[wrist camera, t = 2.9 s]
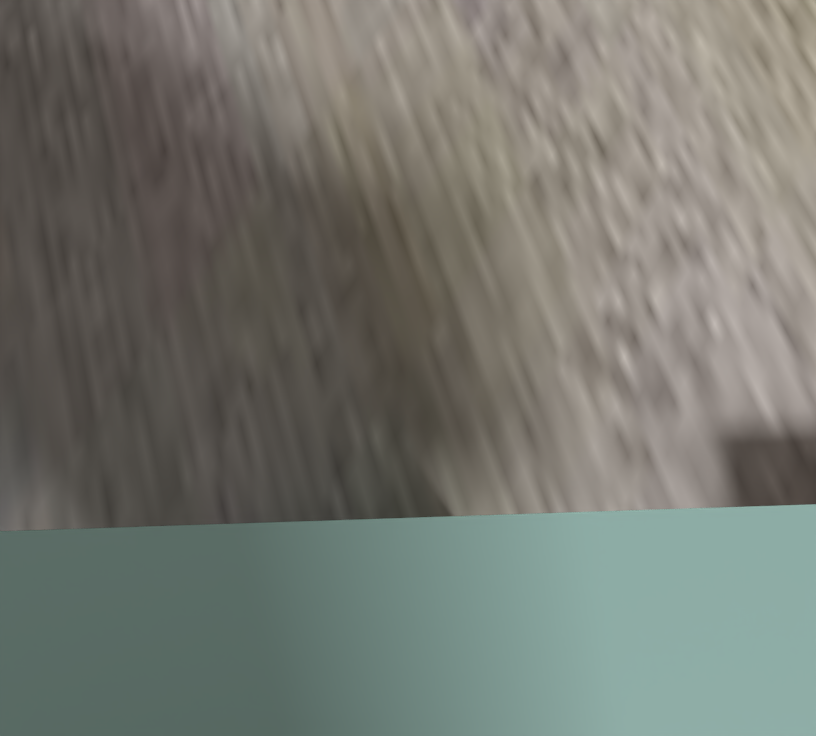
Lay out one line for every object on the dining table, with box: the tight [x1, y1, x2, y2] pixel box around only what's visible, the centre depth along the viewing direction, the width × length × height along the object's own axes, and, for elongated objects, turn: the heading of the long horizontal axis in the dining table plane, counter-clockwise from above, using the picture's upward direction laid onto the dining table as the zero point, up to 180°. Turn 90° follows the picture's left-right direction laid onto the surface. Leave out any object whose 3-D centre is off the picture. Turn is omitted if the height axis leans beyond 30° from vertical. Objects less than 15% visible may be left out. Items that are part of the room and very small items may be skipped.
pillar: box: [0, 504, 816, 736], centre depth 10 cm, size 5×5×13 cm
